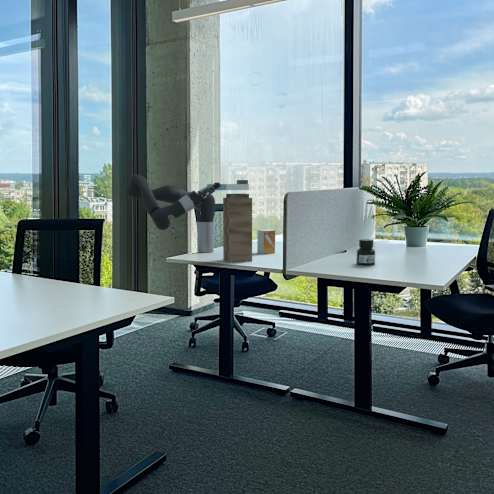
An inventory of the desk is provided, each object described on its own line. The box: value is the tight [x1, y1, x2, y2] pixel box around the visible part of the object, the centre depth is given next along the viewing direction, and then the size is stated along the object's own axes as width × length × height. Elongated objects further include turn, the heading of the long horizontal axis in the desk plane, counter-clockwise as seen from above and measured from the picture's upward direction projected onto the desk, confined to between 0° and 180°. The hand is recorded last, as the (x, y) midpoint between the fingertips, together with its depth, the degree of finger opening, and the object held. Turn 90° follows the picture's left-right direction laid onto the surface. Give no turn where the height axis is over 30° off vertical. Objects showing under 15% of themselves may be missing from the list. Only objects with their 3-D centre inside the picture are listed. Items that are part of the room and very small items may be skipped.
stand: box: [222, 193, 253, 263], centre depth 276 cm, size 10×12×34 cm
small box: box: [256, 229, 276, 255], centre depth 304 cm, size 8×6×13 cm
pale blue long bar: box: [206, 179, 250, 191], centre depth 271 cm, size 3×21×5 cm, turn 111°
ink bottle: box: [356, 238, 376, 266], centre depth 267 cm, size 10×9×12 cm
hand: (218, 184), depth 269 cm, fingers closed on pale blue long bar, 3 cm apart
